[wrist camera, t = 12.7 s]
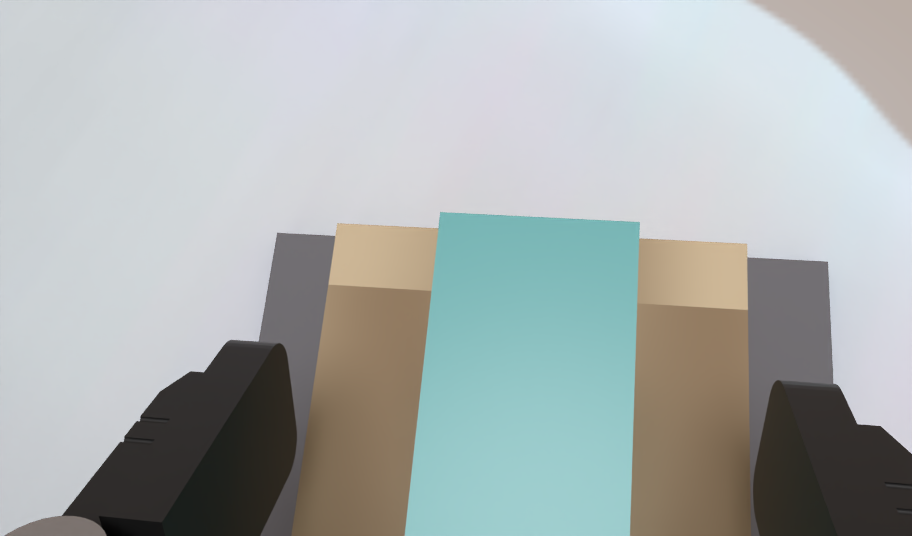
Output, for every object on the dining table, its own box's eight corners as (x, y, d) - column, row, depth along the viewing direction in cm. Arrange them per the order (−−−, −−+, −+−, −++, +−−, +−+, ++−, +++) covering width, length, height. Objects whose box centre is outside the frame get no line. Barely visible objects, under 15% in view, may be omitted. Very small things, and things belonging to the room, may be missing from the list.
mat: (183, 833, 15) (173, 840, 15) (283, 238, 19) (277, 233, 19) (850, 938, 14) (858, 950, 13) (822, 268, 17) (827, 261, 17)
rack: (310, 736, 15) (254, 782, 12) (370, 272, 18) (336, 223, 15) (715, 792, 14) (755, 855, 12) (714, 291, 17) (746, 244, 14)
